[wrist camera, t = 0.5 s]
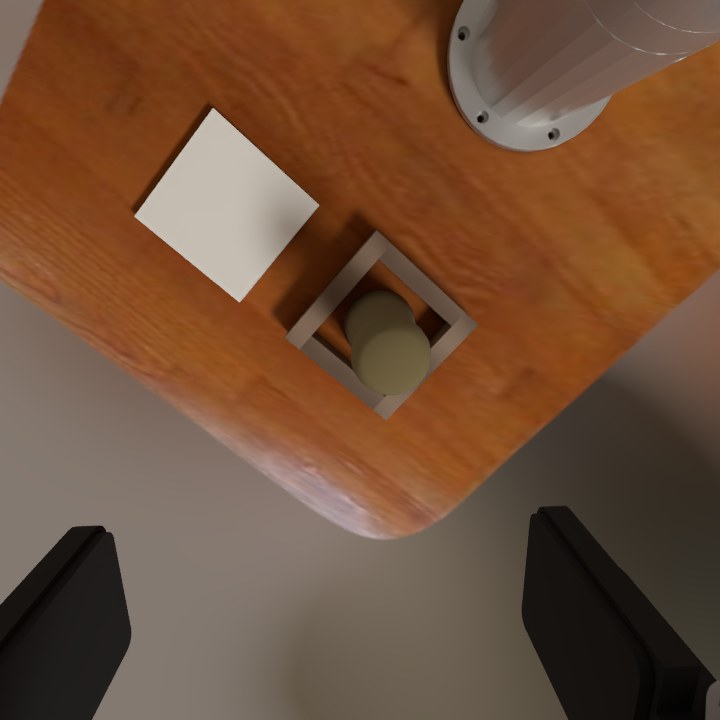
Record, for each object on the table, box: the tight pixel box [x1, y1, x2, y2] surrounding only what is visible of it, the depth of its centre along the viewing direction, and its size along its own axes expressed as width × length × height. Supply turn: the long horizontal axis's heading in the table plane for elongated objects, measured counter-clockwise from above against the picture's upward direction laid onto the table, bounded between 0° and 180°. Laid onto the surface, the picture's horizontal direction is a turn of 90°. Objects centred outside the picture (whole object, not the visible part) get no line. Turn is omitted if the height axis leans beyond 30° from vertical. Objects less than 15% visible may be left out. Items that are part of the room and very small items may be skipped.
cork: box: [344, 290, 431, 395], centre depth 33 cm, size 6×6×11 cm
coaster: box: [134, 108, 320, 302], centre depth 35 cm, size 10×10×1 cm
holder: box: [285, 230, 478, 420], centre depth 37 cm, size 11×11×2 cm
